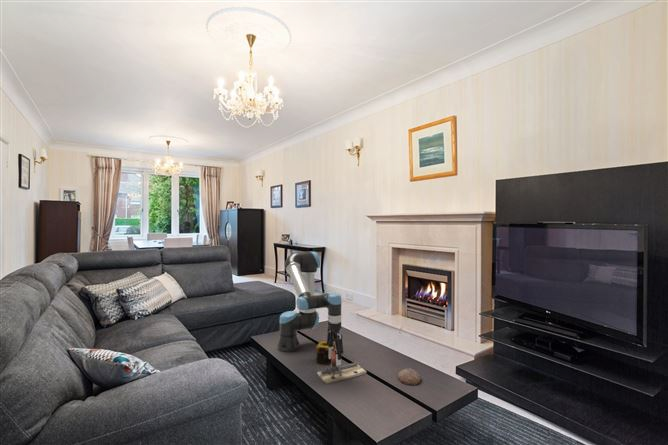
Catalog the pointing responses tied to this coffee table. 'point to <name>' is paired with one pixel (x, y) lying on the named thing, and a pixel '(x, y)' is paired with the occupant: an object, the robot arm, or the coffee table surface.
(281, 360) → the coffee table surface
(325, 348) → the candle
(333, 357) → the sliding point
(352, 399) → the coffee table surface
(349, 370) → the board
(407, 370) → the decorative stone
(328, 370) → the rail
